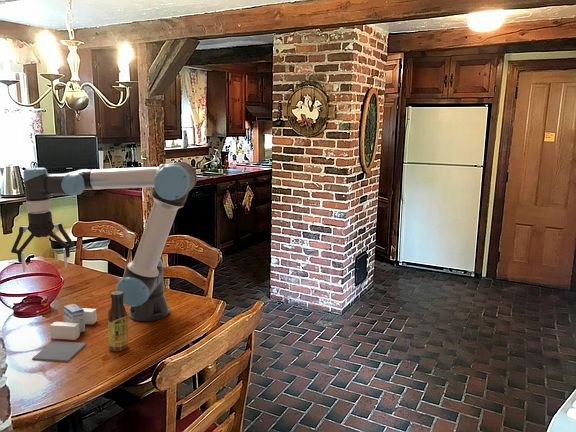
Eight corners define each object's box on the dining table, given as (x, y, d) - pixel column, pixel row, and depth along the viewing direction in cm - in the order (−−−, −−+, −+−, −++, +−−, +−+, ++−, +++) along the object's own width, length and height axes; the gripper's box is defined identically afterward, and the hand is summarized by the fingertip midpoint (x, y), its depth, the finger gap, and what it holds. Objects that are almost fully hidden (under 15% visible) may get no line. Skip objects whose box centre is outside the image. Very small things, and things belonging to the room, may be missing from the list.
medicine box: (64, 328, 176) (62, 306, 174) (76, 324, 179) (74, 302, 177) (73, 334, 170) (71, 312, 169) (85, 331, 174) (84, 308, 172)
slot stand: (96, 321, 182) (96, 308, 181) (75, 339, 167) (74, 326, 166) (74, 319, 183) (73, 307, 182) (51, 338, 167) (49, 325, 166)
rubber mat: (86, 344, 163) (86, 343, 163) (68, 361, 151) (67, 360, 151) (53, 342, 164) (52, 341, 164) (32, 359, 152) (32, 358, 152)
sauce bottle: (116, 354, 157) (113, 298, 153) (104, 349, 160) (101, 293, 156) (132, 346, 163) (130, 292, 159) (120, 341, 166) (117, 288, 162)
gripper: (77, 207, 176) (82, 261, 180) (0, 212, 167) (8, 269, 171) (77, 210, 169) (82, 267, 174) (-3, 216, 160) (4, 275, 164)
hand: (45, 268), depth 172 cm, fingers open, 13 cm apart
